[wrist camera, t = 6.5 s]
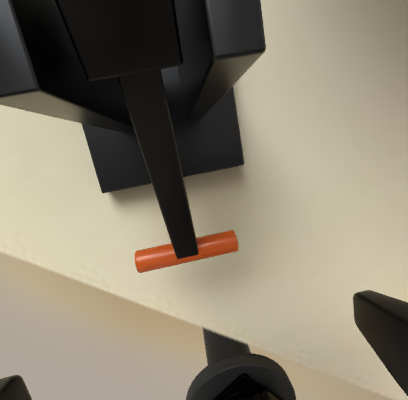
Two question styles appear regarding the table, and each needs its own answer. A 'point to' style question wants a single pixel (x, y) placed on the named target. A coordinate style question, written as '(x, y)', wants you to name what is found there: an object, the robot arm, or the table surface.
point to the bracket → (112, 94)
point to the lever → (144, 107)
